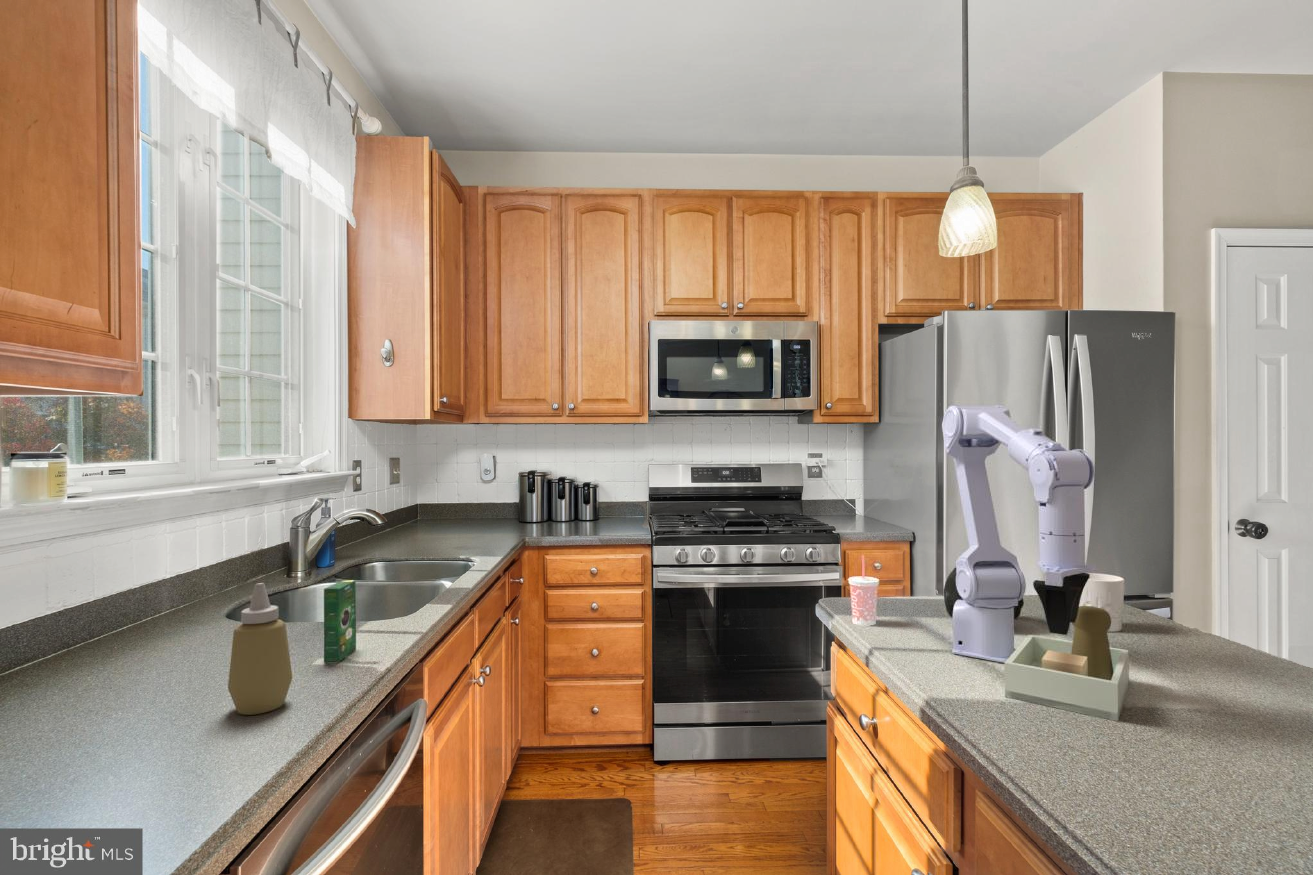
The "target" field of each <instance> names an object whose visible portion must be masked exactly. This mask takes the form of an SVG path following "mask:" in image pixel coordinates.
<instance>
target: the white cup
mask: <svg viewBox="0 0 1313 875" xmlns="http://www.w3.org/2000/svg"><path fill="white" fill-rule="evenodd" d="M1086 573H1087V574H1090V578H1089V579H1088V581H1087V583H1086V584H1085V587H1084V589H1083V592H1082V595H1081V599H1080V604H1079V606H1093V607H1097V608H1101V609H1104V610H1106V611H1107V612H1108V613H1109V615H1110V617H1111V626H1110V628H1109V630H1108V631H1107V633H1110V632H1111V633H1113V632H1114V633H1116V632H1120V631H1121V630H1122V627H1123V625H1122V623H1123V618H1122V617H1123V613H1124V597H1125V596H1124V595H1125V594H1124V593H1125V579H1124V578H1123V577H1121V576H1118V575H1114V574H1113V575H1112V574H1106V573H1096V572H1086Z"/></svg>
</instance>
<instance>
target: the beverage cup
mask: <svg viewBox="0 0 1313 875" xmlns="http://www.w3.org/2000/svg"><path fill="white" fill-rule="evenodd" d="M861 565H862V568H861V569H862V571H861V572H862V573H861V574H862V576H861V575H860V576H858V575H857V576H856V575H855V576H850V577H848V579H847V581H848V584H849V589H850V592H849V593H850V604H851V617H852V620H851V621H852V624H854V625H857V626H861V627H862V626H863V627H871V626H870V625H873V624H875V625H876V624H877V606H878V605H877V604H878V602H877V601H878V588H879V587H878V586H879V584H880V579H879V578H877V577H872V576H866V574H865V573H866V569H865V567H866V566H865V554H862V555H861ZM873 626H874V625H873Z"/></svg>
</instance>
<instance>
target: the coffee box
mask: <svg viewBox="0 0 1313 875" xmlns="http://www.w3.org/2000/svg"><path fill="white" fill-rule="evenodd" d="M356 594H357V593H356V580H355V579H346V580H345V579H343V580H340V581H338V582H335V583H334V584H331V585H330V586H327V587H325V588H323V664H326V663H328V664H329V663H330V664H338V663H340V662H341V661H344V659H345V658H346V657H348V656H349V655H350V654H352V653H353V652H354V651H355V650H356V649H357V614H356V613H357V609H356V607H357V606H356V605H357V604H356V601H357V598H356Z"/></svg>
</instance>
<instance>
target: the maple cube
mask: <svg viewBox="0 0 1313 875" xmlns="http://www.w3.org/2000/svg"><path fill="white" fill-rule="evenodd" d="M1042 668H1045V669H1050V670H1056V671H1061V672H1067V673H1072V674H1077V675H1083V676H1088V662H1087V657H1085V656H1080V655H1074V654H1068V653H1062V652H1056V651H1050V650H1048V651H1047V652H1046V654H1045V655H1044V656H1043V658H1042Z"/></svg>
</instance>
